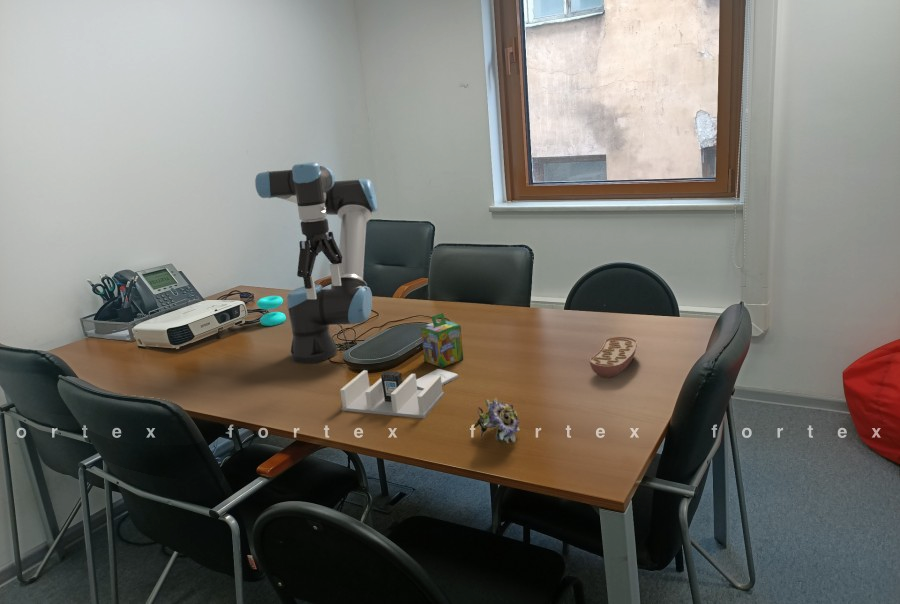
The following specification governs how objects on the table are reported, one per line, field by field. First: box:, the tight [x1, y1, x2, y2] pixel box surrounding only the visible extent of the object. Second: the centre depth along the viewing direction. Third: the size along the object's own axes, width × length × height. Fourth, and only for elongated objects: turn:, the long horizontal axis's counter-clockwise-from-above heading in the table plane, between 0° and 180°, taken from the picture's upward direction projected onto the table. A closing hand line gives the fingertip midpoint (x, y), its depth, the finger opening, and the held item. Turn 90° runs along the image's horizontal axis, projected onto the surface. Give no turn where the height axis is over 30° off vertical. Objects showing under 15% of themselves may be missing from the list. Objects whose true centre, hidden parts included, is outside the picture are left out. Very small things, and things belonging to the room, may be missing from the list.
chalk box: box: [420, 312, 464, 369], centre depth 194 cm, size 9×9×15 cm
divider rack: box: [339, 369, 445, 419], centre depth 170 cm, size 14×24×6 cm, turn 69°
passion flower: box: [473, 397, 521, 445], centre depth 146 cm, size 11×11×12 cm
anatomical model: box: [589, 336, 638, 379], centre depth 179 cm, size 23×10×5 cm, turn 150°
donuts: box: [256, 295, 287, 327], centre depth 249 cm, size 10×10×10 cm
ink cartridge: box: [380, 370, 403, 402], centre depth 169 cm, size 5×2×8 cm, turn 68°
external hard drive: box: [416, 368, 459, 390], centre depth 181 cm, size 2×8×12 cm
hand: (324, 292), depth 184 cm, fingers open, 13 cm apart
